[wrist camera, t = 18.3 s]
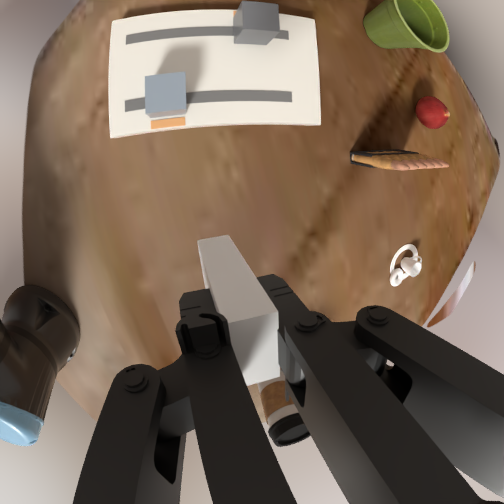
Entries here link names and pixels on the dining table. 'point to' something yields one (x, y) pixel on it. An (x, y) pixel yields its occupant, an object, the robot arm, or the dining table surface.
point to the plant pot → (407, 25)
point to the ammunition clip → (395, 160)
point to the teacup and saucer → (405, 265)
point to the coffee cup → (281, 413)
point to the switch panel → (213, 72)
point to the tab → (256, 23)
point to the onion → (432, 112)
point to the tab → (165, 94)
